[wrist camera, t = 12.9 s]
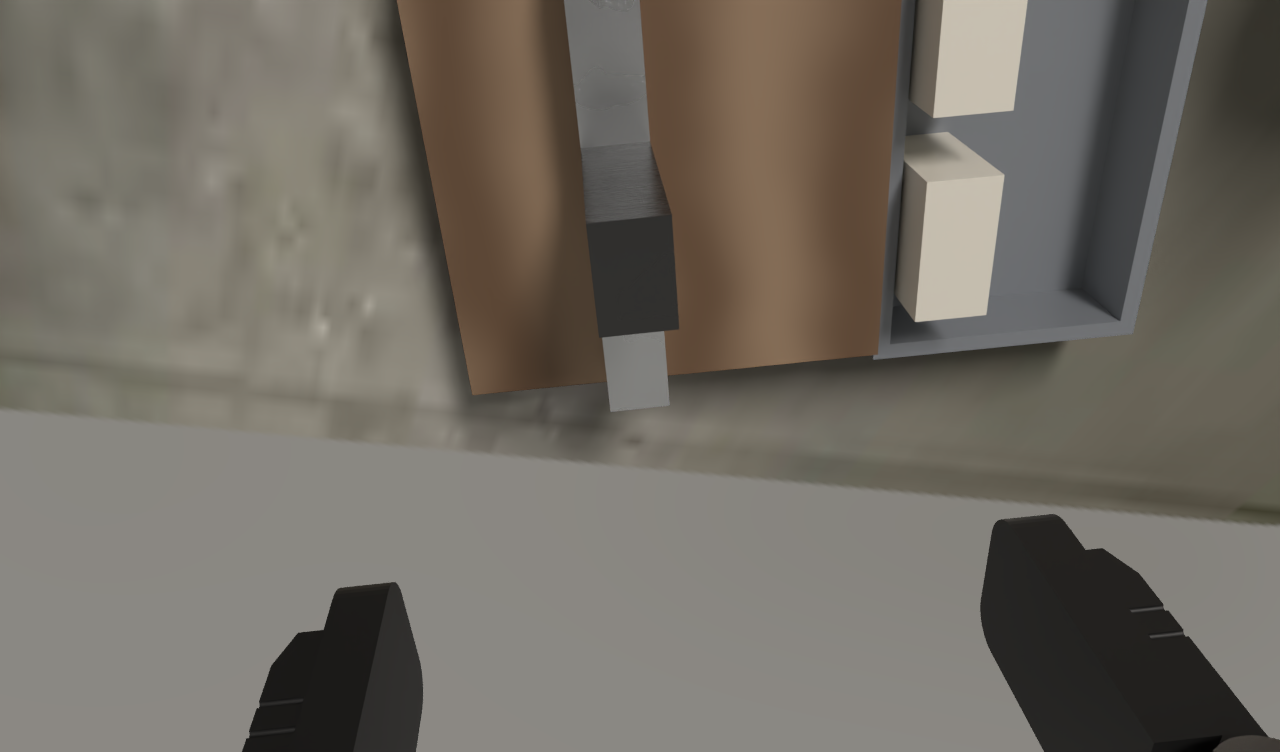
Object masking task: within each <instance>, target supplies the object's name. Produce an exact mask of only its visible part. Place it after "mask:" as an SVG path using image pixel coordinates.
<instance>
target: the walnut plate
mask: <svg viewBox="0 0 1280 752" xmlns="http://www.w3.org/2000/svg"><path fill="white" fill-rule="evenodd" d="M901 3H902V0H640V13H641V27H642V40H643V53H644V67H645V80H646V94H647V107H648V121H649V134H650V143H651V146H652V150H653V153H654V156H655V160H656V163H657V166H658V170H659V173H660V176H661V180H662V183H663V187H664V190H665V193H666V197H667V200H668V203H669V207H670V210H671V213H672V224H673V239H674V255H675V270H676V285H677V301H678V316H679V330H670V331H664V336H665V349H666V362H667V376H669V375H679V374H689V373H699V372H709V371H719V370H729V369H739V368H749V367H759V366H769V365H780V364H790V363H800V362H810V361H820V360H830V359H840V358H850V357H860V356H870V355H878V346H879V331H880V316H881V301H882V287H883V272H884V257H885V242H886V227H887V212H888V197H889V182H890V167H891V152H892V138H893V123H894V108H895V93H896V78H897V63H898V48H899V33H900V18H901ZM397 4H398V10H399V15H400V20H401V25H402V30H403V36H404V41H405V46H406V51H407V57H408V62H409V67H410V72H411V77H412V83H413V88H414V93H415V98H416V104H417V109H418V114H419V119H420V124H421V130H422V135H423V140H424V145H425V150H426V156H427V161H428V166H429V171H430V177H431V182H432V187H433V192H434V197H435V203H436V208H437V213H438V218H439V224H440V229H441V234H442V239H443V244H444V250H445V255H446V260H447V265H448V271H449V276H450V281H451V286H452V291H453V297H454V302H455V307H456V312H457V317H458V323H459V328H460V333H461V338H462V344H463V349H464V354H465V359H466V364H467V370H468V375H469V380H470V385H471V391H472V395H479V394H489V393H499V392H509V391H519V390H529V389H539V388H549V387H559V386H569V385H579V384H589V383H599V382H607V376H606V368H605V359H604V350H603V341H602V338H599V334H598V325H597V316H596V308H595V299H594V290H593V282H592V273H591V264H590V256H589V247H588V238H587V230H586V219H585V204H584V190H583V175H582V160H581V147H580V138H579V129H578V120H577V111H576V103H575V94H574V85H573V76H572V67H571V58H570V50H569V41H568V32H567V23H566V14H565V5H564V0H397Z"/></svg>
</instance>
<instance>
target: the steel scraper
mask: <svg viewBox="0 0 1280 752" xmlns="http://www.w3.org/2000/svg"><path fill="white" fill-rule="evenodd" d="M564 5H565V14H566V23H567V32H568V41H569V50H570V58H571V67H572V76H573V85H574V94H575V103H576V111H577V120H578V129H579V138H580V147H581V160H582V175H583V190H584V204H585V219H586V230H587V238H588V247H589V256H590V264H591V273H592V282H593V290H594V299H595V308H596V316H597V325H598V334H599V338H602V341H603V350H604V359H605V368H606V376H607V385H608V394H609V403H610V412H615V411H625V410H634V409H643V408H652V407H662V406H670V403H669V389H668V376H667V362H666V349H665V336H664V331H670V330H679V316H678V301H677V285H676V270H675V255H674V239H673V224H672V213H671V210H670V207H669V203H668V200H667V197H666V193H665V190H664V187H663V183H662V180H661V176H660V173H659V170H658V166H657V163H656V160H655V156H654V153H653V150H652V146H651V143H650V134H649V121H648V107H647V94H646V80H645V67H644V53H643V40H642V27H641V13H640V0H564Z"/></svg>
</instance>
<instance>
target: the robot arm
mask: <svg viewBox="0 0 1280 752" xmlns="http://www.w3.org/2000/svg"><path fill="white" fill-rule="evenodd" d="M980 611H981V622H982V627H983V631H984V635H985V638H986V641H987V644H988V647H989V649H990V651H991V653H992V655H993V657H994V658H995V660H996V662H997V664H998V666H999V668H1000V670H1001V671H1002V673H1003V675H1004V677H1005V679H1006V681H1007V683H1008V685H1009V686H1010V688H1011V690H1012V692H1013V694H1014V696H1015V698H1016V700H1017V701H1018V703H1019V705H1020V707H1021V709H1022V711H1023V713H1024V715H1025V717H1026V718H1027V720H1028V722H1029V724H1030V726H1031V728H1032V730H1033V732H1034V734H1035V735H1036V737H1037V739H1038V741H1039V743H1040V745H1041V746H1042V749H1043V750H1044V752H1280V740H1279V739H1275V738H1270V737H1268V736H1267V735H1266V733H1265V732H1264V731H1263V730H1262V729H1261V727H1260V726H1259V725H1258V724H1257V722H1256V721H1255V720H1254V719H1253V717H1252V716H1251V715H1250V713H1249V712H1248V711H1247V710H1246V708H1245V707H1244V706H1243V705H1242V703H1241V702H1240V701H1239V699H1238V698H1237V697H1236V696H1235V695H1234V693H1233V692H1232V691H1231V689H1230V688H1229V687H1228V686H1227V684H1226V683H1225V682H1224V681H1223V679H1222V678H1221V677H1220V675H1219V674H1218V673H1217V672H1216V671H1215V669H1214V668H1213V667H1212V665H1211V664H1210V663H1209V661H1208V660H1207V659H1206V658H1205V657H1204V655H1203V654H1202V653H1201V651H1200V650H1199V649H1198V648H1197V646H1196V645H1195V644H1194V643H1193V641H1192V640H1191V639H1190V637H1185V635H1184V633H1183V629H1182V627H1181V626H1180V625H1179V624H1178V622H1177V621H1176V620H1175V619H1174V617H1173V616H1172V615H1171V614H1170V612H1169V611H1165V610H1164V608H1163V603H1162V602H1161V601H1160V600H1159V598H1158V597H1157V596H1156V594H1155V593H1154V592H1153V591H1152V589H1151V588H1150V587H1149V586H1148V584H1147V583H1146V582H1145V580H1144V579H1143V578H1142V577H1141V576H1140V574H1139V573H1138V572H1136V571H1135V570H1133V569H1132V568H1130V567H1129V566H1127V565H1126V564H1125V563H1123V562H1122V561H1120V560H1119V559H1117V558H1116V557H1114V556H1113V555H1112V554H1110V553H1109V552H1107V551H1106V550H1104V549H1102V548H1101V549H1091V550H1085V549H1084V547H1083V546H1082V544H1081V543H1080V542H1079V541H1078V539H1077V538H1076V537H1075V535H1074V534H1073V532H1072V531H1071V530H1070V528H1069V527H1068V526H1067V525H1066V523H1065V522H1064V521H1063V519H1061V518H1060V517H1059V516H1057V515H1055V514H1049V515H1040V516H1030V517H1021V518H1012V519H1003V520H998V521H997V522H996V523H995V525H994V527H993V530H992V535H991V541H990V547H989V553H988V559H987V566H986V572H985V578H984V585H983V590H982V597H981V605H980ZM259 703H260V707H259V708H257V709H256V712H255V715H254V718H253V721H252V724H251V727H250V730H249V732H250V736H249V738H247V739H246V742H245V745H244V748H243V751H242V752H416V747H417V740H418V733H419V727H420V720H421V714H422V704H423V682H422V671H421V665H420V660H419V656H418V653H417V649H416V645H415V642H414V638H413V634H412V631H411V627H410V623H409V619H408V616H407V612H406V609H405V605H404V601H403V597H402V593H401V590H400V588H399V586H398V585H397V583H395V582H391V583H383V584H372V585H363V586H354V587H345V588H339V589H338V590H337V591H336V592H335V594H334V597H333V600H332V603H331V607H330V610H329V614H328V617H327V620H326V624H325V627H324V630H320V631H311V632H302V633H298V634H297V635H296V636H295V637H294V639H293V640H292V641H291V642H290V644H289V645H288V646H287V647H286V648H285V650H284V651H283V652H282V653H281V655H280V656H279V657H278V658H277V659H276V661H275V662H274V663H273V665H272V666H271V668H270V671H269V674H268V677H267V681H266V683H265V686H264V689H263V692H262V695H261V698H260V701H259Z"/></svg>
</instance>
